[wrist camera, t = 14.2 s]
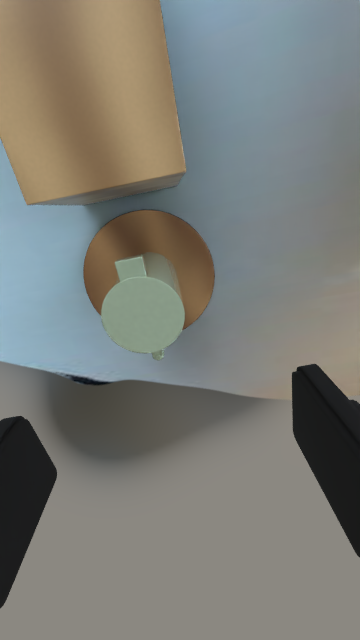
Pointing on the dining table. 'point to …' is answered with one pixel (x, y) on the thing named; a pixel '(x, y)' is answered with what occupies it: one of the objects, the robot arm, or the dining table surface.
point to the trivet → (158, 237)
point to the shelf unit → (87, 100)
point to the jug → (144, 305)
